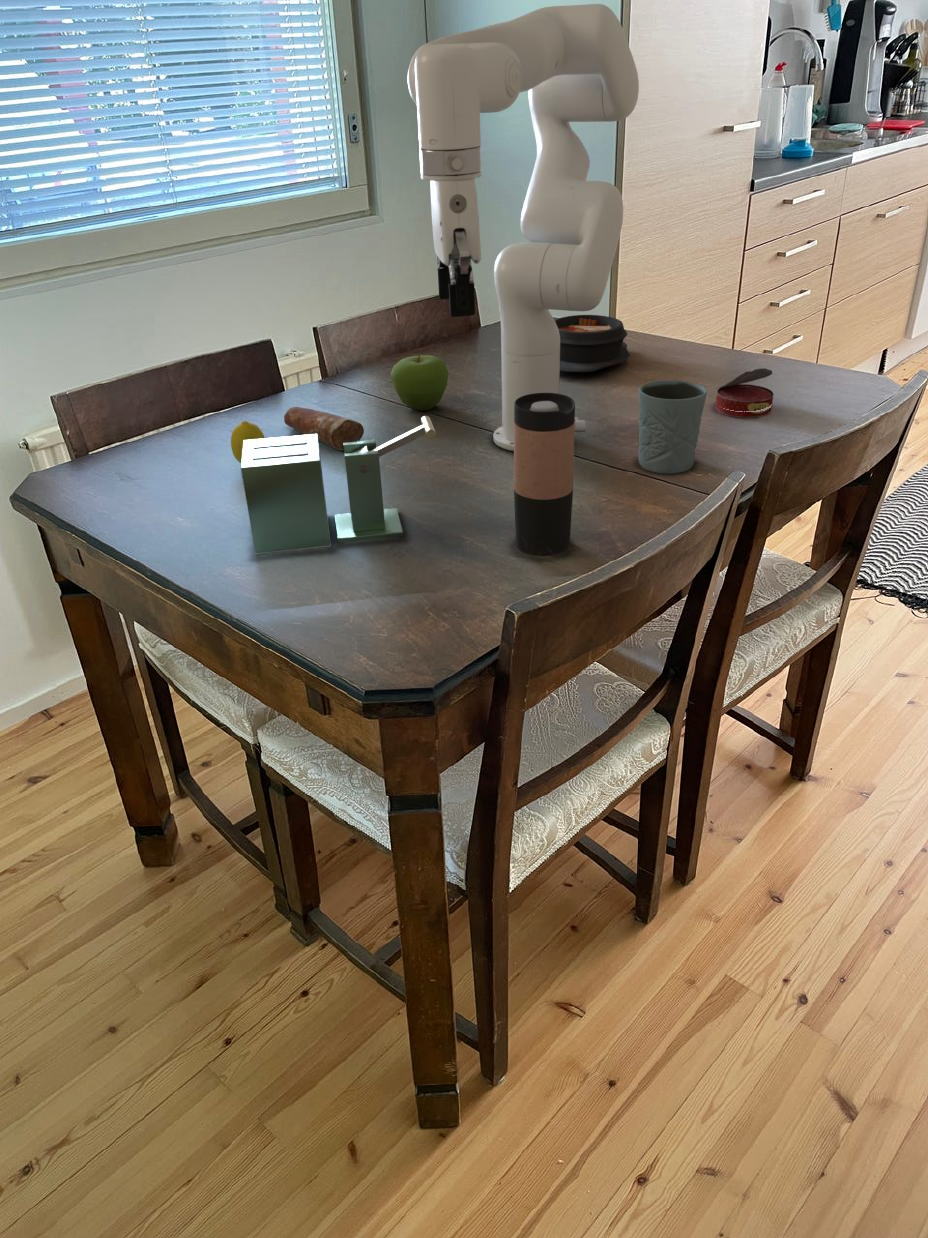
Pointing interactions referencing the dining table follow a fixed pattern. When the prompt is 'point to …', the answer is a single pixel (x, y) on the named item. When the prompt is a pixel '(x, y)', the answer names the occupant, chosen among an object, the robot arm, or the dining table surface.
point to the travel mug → (543, 472)
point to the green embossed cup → (669, 424)
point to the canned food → (745, 396)
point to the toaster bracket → (365, 498)
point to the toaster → (285, 494)
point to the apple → (420, 381)
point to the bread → (324, 426)
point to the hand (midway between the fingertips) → (456, 306)
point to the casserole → (591, 342)
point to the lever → (405, 437)
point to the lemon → (244, 437)
